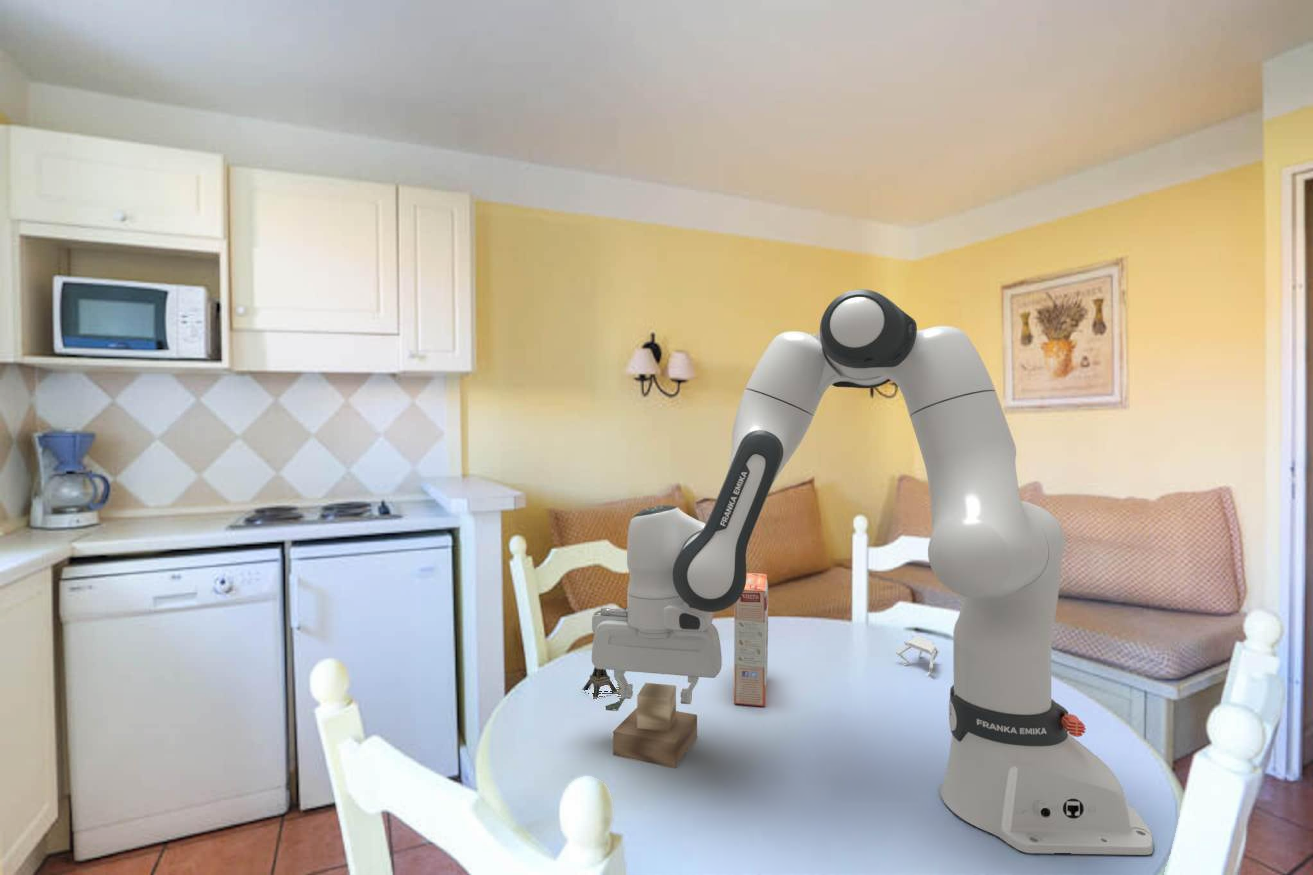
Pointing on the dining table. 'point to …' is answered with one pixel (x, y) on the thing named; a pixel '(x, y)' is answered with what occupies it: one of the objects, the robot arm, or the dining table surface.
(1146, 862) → the dining table surface
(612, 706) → the eiffel tower figurine
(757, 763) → the dining table surface
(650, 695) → the maple cube
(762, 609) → the cracker box
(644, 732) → the walnut block
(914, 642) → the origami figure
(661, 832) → the dining table surface
